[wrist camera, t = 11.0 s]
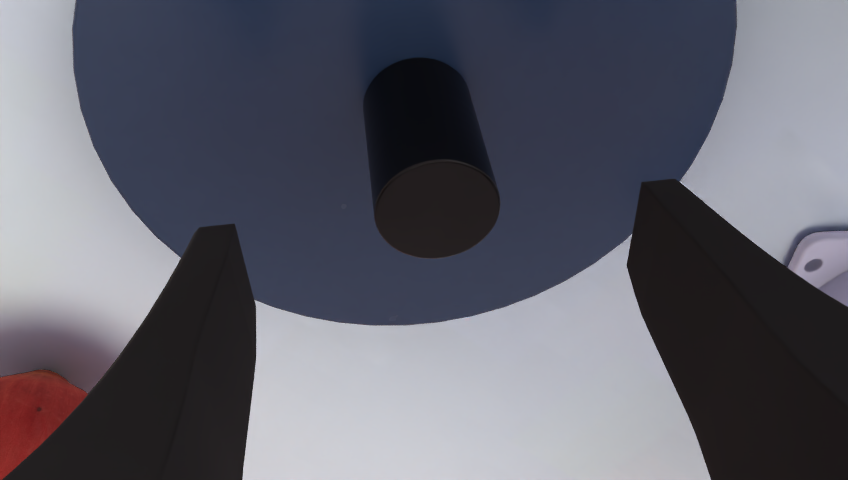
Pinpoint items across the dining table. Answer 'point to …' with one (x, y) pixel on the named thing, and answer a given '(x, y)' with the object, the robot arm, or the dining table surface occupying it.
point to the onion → (32, 412)
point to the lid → (399, 136)
